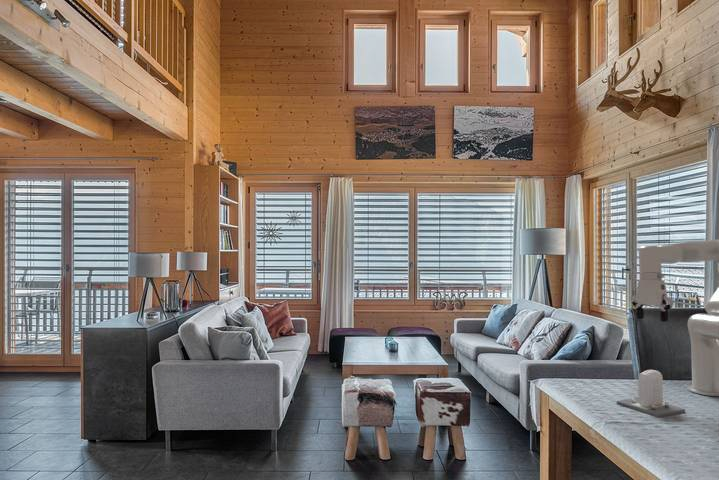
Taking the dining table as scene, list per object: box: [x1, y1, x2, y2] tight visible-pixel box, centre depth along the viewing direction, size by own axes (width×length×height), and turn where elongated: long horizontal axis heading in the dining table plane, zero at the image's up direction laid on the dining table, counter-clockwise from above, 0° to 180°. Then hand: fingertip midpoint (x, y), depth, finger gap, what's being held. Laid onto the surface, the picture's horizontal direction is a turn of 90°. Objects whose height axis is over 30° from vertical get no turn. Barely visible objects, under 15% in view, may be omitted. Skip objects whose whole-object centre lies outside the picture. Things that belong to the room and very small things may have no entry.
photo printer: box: [637, 369, 664, 407], centre depth 171 cm, size 10×4×12 cm, turn 120°
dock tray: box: [616, 397, 686, 418], centre depth 171 cm, size 14×16×2 cm
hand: (652, 319), depth 187 cm, fingers open, 9 cm apart
